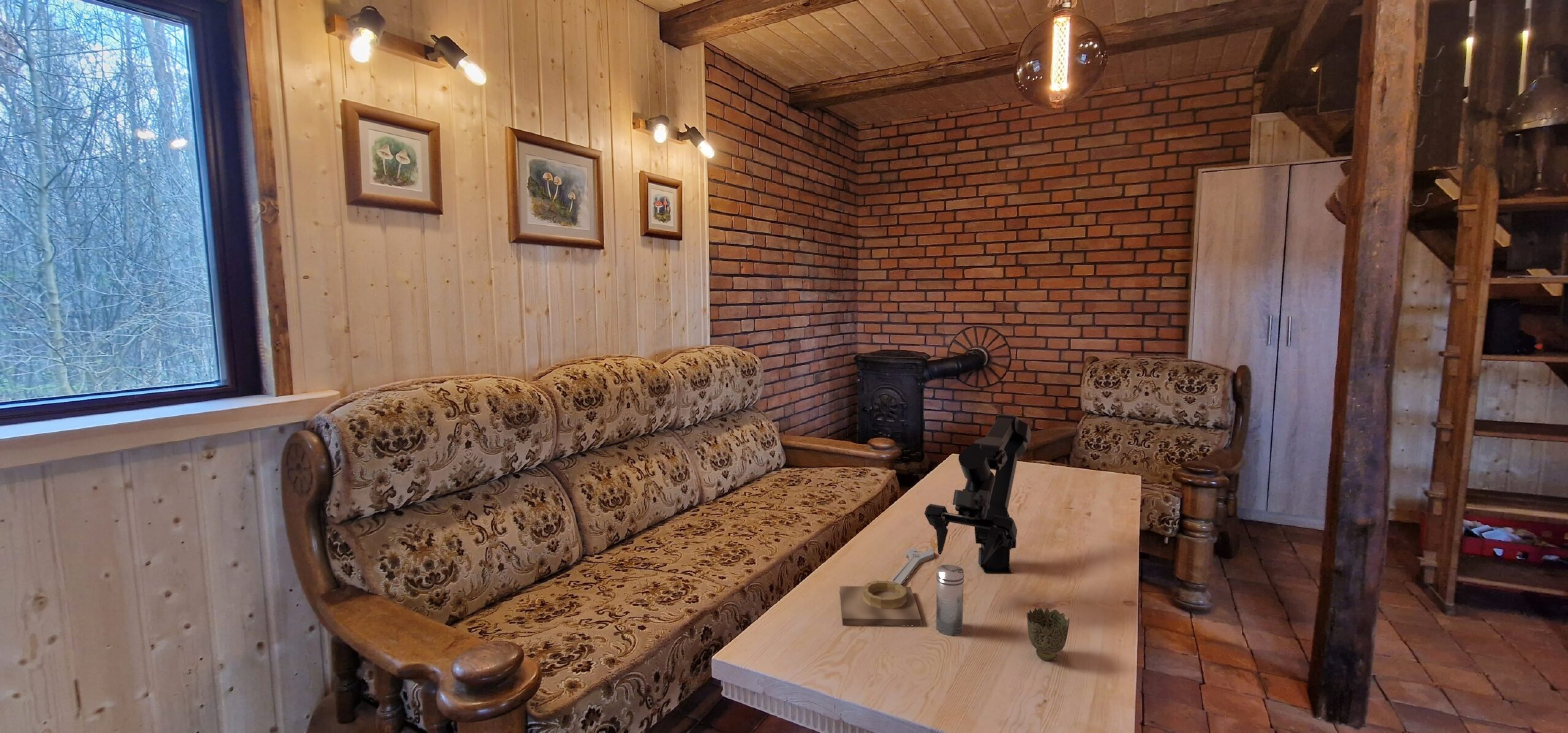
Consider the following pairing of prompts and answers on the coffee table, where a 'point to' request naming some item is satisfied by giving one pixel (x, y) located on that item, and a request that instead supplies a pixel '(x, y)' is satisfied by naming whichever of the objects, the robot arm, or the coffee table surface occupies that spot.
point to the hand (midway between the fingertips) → (960, 558)
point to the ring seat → (879, 605)
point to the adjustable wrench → (912, 563)
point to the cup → (1047, 632)
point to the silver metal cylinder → (949, 600)
